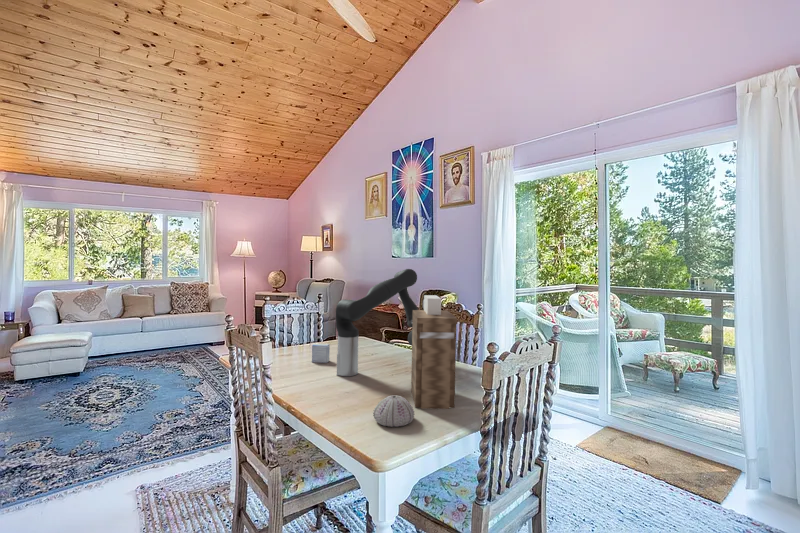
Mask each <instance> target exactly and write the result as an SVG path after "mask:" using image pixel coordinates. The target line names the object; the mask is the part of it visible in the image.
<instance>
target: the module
mask: <svg viewBox="0 0 800 533" xmlns="http://www.w3.org/2000/svg"><path fill="white" fill-rule="evenodd" d="M422 309H423V310H424V311H425V312H426V313H427V315H441V310H442V298H441V297H439V296H438V295H437V294H434V295H433V294H432V295H431V294H428V295H427V294H424V295H423V300H422Z"/></svg>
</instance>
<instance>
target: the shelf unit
mask: <svg viewBox="0 0 800 533" xmlns="http://www.w3.org/2000/svg"><path fill="white" fill-rule="evenodd" d="M457 324H458V318H457V316H455V315H453V313H451V312H450V311H449V310H446V309H445V310H442V309H441V315H427V313H426V312H425V311H424V309H418V310H413V325H412V327H411V328H412V330H411V331H412V346H411V375H410V376H411V382H410V391H411V396H412V399H413V400H412V401H413V404H414V408H417V409H419V408H420V409H421V410H424V409H425V410H436V409H437V410H439V409H440V410H441V409H442V410H446V409H447V410H449V409H451V408H452V409H454V408H455V401H456V356H457V353H456V352H457Z"/></svg>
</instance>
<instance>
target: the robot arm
mask: <svg viewBox="0 0 800 533" xmlns="http://www.w3.org/2000/svg"><path fill="white" fill-rule="evenodd" d="M417 280H418V274H417V272H416V271H415V270H414V269H412V268H411V269H410V268H406V269H402V270H400V271H398V272H395V274H394V276H393V277H392V278H388V279H386V280H384V281H380V282H379V283H377V284H375V285H373V286H372V287H370V288H369V289H368V292H367V293H366V295H365V296H363V297H361V298H359V299H357V300H354V299H341V300H339V302H338V303H337V305H336V309H335V326H336V328H335V329H336V332H337V353H336V376H342V377H353V376H357V375H358V374H359V335H360V334H359V333H360V332H359V329H358V327H356V326H355V325H354V324H353V322H356V321H358V320H360V319H361V318H363V317H364V316H366V314H368V313H369V312H370V311H372V310H373V309H375V308H377V307H378V306H380V305H382V304H383V303H385V302H387V301H389V300H390V299H391V298H394V297H395V296H396V295H397V294H398V295H399V298H400V301H401V303H402V306H403V309H404V312H405V316H406V322H407V325H408V327H409V328H412V325H413V310H419V308H418V306H417V305H416V303H415V302H414V301H413V299H412V298H411V296H410V294H409V291H408V288H410V287H411V286H412V287H413V286H414V285H415V284H416V283H417ZM407 342H408V344H409V345H410V346H411V347H412V330H411V331H409V333H408V334H407Z"/></svg>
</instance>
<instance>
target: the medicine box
mask: <svg viewBox="0 0 800 533" xmlns="http://www.w3.org/2000/svg"><path fill="white" fill-rule="evenodd" d="M330 345H331V344H330V343H317V342H316V343H313V344H312V345H311V363H319V364H320V363H322V364H326V363H327V364H328V362H330Z"/></svg>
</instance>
